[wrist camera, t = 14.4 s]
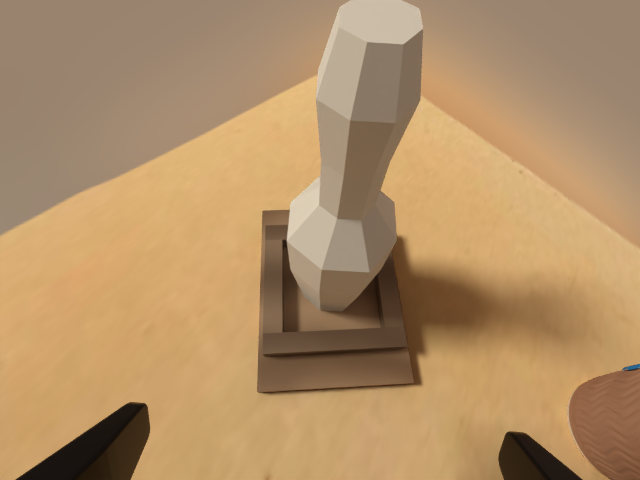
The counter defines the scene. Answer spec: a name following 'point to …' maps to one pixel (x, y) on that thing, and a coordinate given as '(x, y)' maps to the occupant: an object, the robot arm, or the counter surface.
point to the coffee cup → (608, 422)
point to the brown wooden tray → (325, 327)
